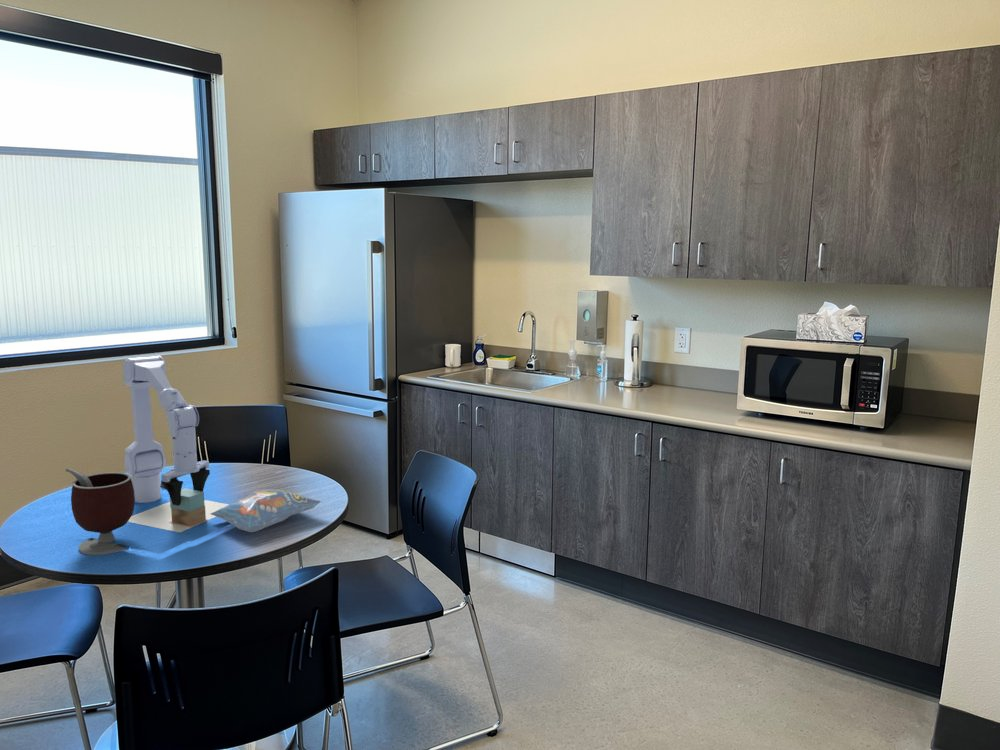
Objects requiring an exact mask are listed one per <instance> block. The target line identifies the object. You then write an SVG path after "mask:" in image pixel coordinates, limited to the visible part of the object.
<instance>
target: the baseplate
mask: <svg viewBox="0 0 1000 750" xmlns="http://www.w3.org/2000/svg"><path fill="white" fill-rule="evenodd" d="M204 504H205V512H206V520H205V521H202V522H200V523H198V524H195V525H193V526H189V525H184V524H179V523H174V522H172V515H171V507H170V501H168V502H165V503H163V504H160V505H158V506H155V507H154V506H153V507H151V508H150V509H147V510H144V511H142V512H139V513H137V514H134V515H133V514H132V516H131V518H130V519H129V521H128V522H127V523H133V524H137V525H142V526H146V527H151V528H156V529H161V530H167V531H170V532H176V533H182V532H184V531H186V530H189V529H192V528H194V527H196V526H198V525H200V524H202V523H205V522H207V521H209V520H212V519H213V518H214V519H215V518H216V516H214V515H211V513H213V512H215V511H217V510H219V509H221V508H224V507H226V506H228V505H230V504H229V503H225V502H224V503H222V502H219V501H218V502H217V501H212V500H207V499H204Z"/></svg>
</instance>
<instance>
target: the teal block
mask: <svg viewBox="0 0 1000 750" xmlns="http://www.w3.org/2000/svg"><path fill="white" fill-rule="evenodd" d="M204 500H205V492H204V490H203V491H197V490H193V489H191V488H190V489H189V488H185V487H184V488H181V504H180V505H179V506H177V505H173V504H172V501H171V498H170V497H169V502H170V507H171V508H174V509H179V510H185V511H190V512H191V511H193V510H196V509H198V508H201V507H203V506H205V504H204Z"/></svg>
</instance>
